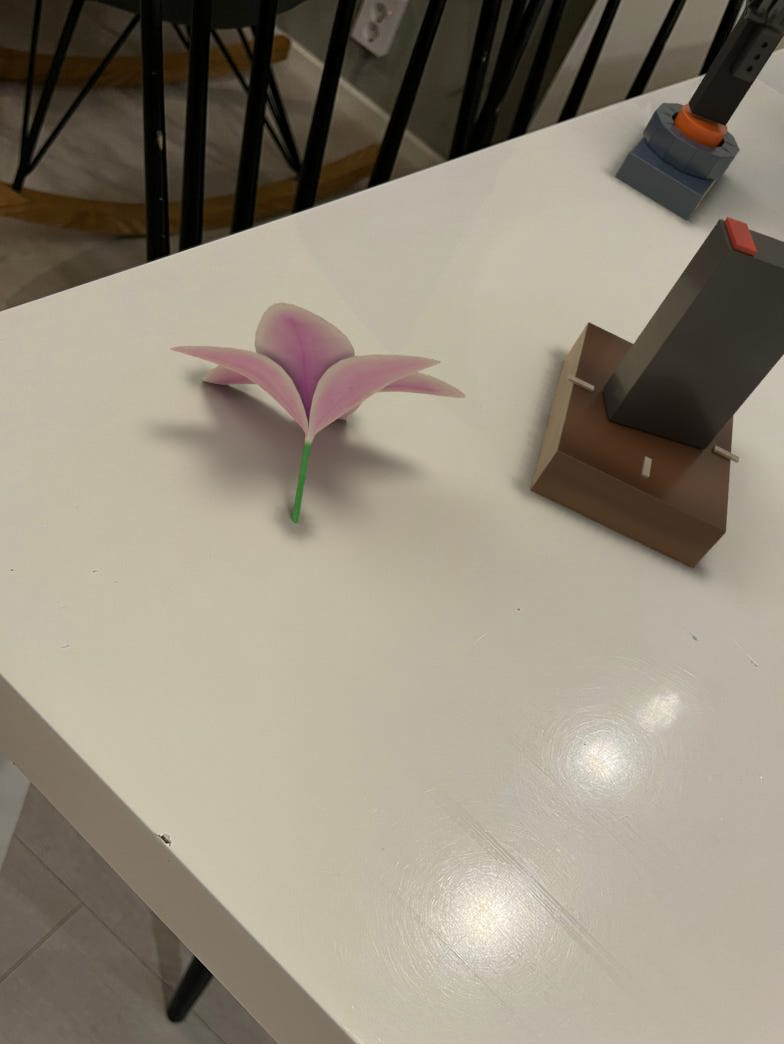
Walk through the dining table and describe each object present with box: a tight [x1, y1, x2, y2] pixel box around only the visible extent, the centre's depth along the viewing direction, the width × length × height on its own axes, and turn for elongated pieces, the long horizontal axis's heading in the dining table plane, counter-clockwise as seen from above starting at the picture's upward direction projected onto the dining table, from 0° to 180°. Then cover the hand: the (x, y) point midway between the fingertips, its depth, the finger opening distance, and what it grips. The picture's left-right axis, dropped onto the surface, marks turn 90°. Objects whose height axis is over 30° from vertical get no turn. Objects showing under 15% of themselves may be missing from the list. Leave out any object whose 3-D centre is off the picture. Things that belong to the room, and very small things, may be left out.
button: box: [674, 103, 728, 147], centre depth 78 cm, size 4×4×2 cm
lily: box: [169, 302, 467, 524], centre depth 46 cm, size 12×12×10 cm
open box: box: [603, 216, 784, 449], centre depth 51 cm, size 6×2×10 cm, turn 87°
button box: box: [614, 102, 741, 222], centre depth 79 cm, size 10×6×4 cm, turn 150°
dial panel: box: [530, 321, 740, 569], centre depth 56 cm, size 12×10×3 cm
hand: (706, 114), depth 77 cm, fingers closed
